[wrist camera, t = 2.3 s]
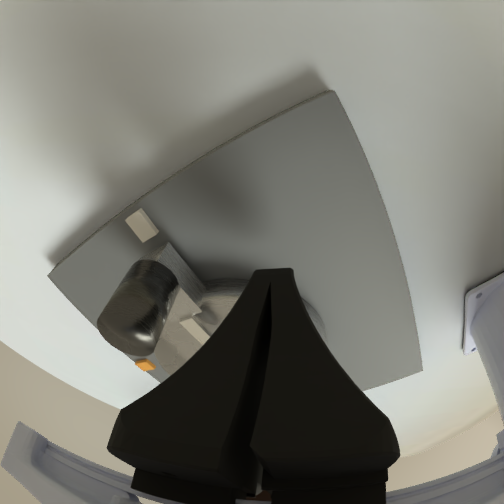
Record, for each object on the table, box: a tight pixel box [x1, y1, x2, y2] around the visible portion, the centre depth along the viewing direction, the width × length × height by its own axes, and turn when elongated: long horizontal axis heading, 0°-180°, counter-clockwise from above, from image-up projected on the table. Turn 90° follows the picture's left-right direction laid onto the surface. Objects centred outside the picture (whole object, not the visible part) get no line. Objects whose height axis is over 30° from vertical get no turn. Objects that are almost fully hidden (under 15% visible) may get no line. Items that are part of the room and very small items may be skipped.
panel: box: [48, 90, 423, 391], centre depth 17 cm, size 20×20×2 cm
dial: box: [97, 242, 328, 376], centre depth 14 cm, size 13×10×5 cm
